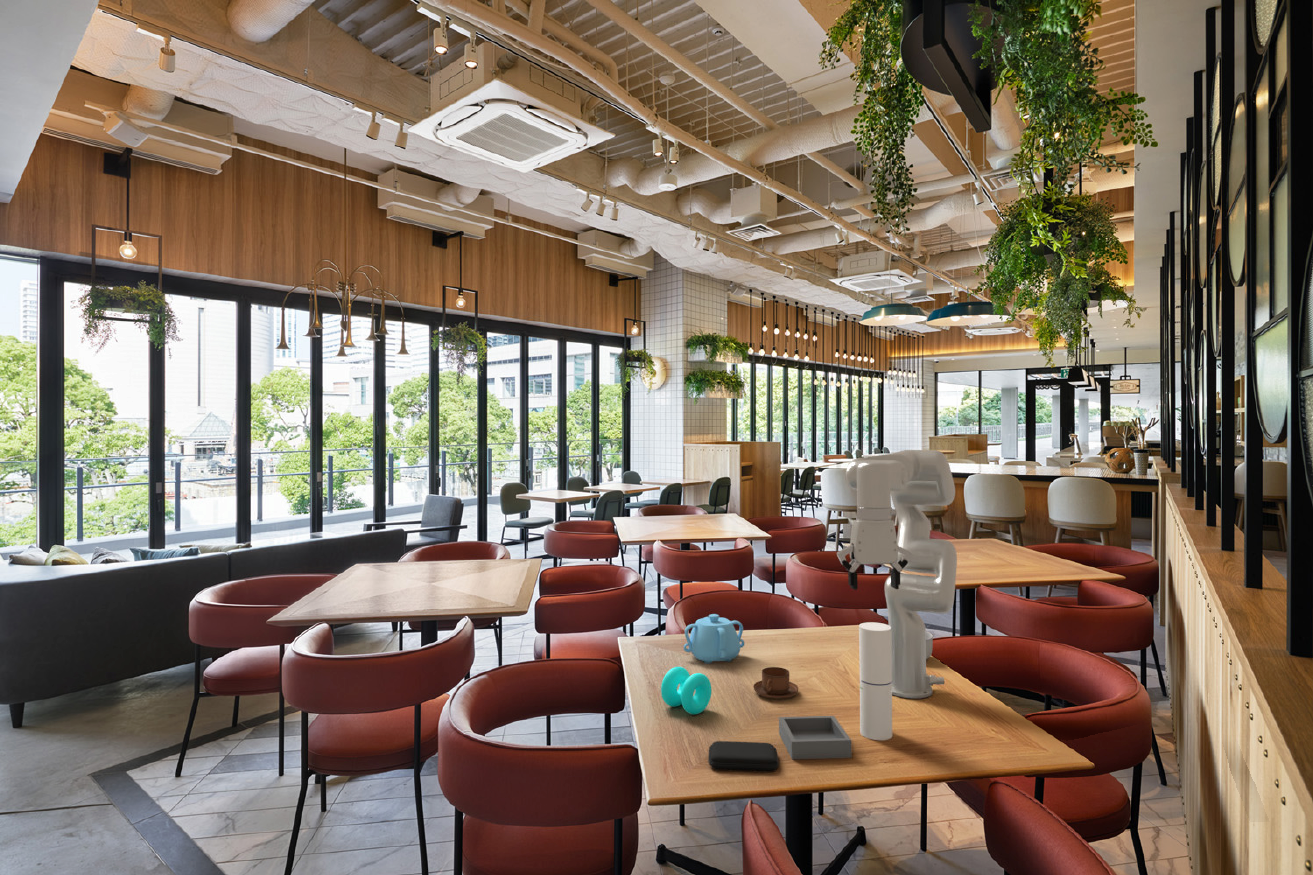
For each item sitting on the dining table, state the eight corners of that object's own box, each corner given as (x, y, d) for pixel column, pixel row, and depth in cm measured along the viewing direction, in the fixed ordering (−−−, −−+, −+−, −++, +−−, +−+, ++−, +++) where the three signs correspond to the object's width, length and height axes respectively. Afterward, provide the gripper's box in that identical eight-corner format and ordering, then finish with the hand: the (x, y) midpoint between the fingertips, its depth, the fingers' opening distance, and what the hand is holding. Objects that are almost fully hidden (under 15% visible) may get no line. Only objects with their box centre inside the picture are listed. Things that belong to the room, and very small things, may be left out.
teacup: (936, 656, 215) (936, 631, 215) (929, 666, 206) (929, 639, 206) (890, 649, 223) (890, 625, 223) (882, 659, 214) (881, 633, 214)
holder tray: (833, 731, 162) (833, 715, 162) (851, 757, 149) (851, 740, 149) (779, 733, 161) (778, 717, 161) (791, 759, 148) (791, 741, 148)
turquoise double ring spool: (685, 698, 183) (685, 661, 183) (714, 709, 176) (713, 670, 176) (658, 709, 176) (658, 670, 176) (687, 720, 169) (687, 680, 169)
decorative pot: (721, 670, 205) (721, 625, 205) (678, 659, 215) (678, 616, 215) (749, 656, 218) (749, 613, 218) (707, 647, 228) (707, 606, 228)
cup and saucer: (798, 704, 179) (798, 680, 179) (752, 701, 181) (751, 677, 181) (798, 687, 191) (798, 665, 191) (754, 684, 193) (754, 662, 193)
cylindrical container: (876, 742, 156) (875, 632, 156) (853, 730, 162) (852, 624, 162) (899, 736, 159) (898, 628, 159) (876, 724, 165) (875, 620, 165)
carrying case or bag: (775, 751, 153) (709, 749, 154) (775, 738, 153) (709, 735, 154) (779, 775, 142) (708, 772, 144) (779, 760, 142) (708, 758, 144)
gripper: (904, 512, 164) (904, 584, 164) (832, 513, 164) (832, 585, 164) (917, 516, 157) (917, 591, 157) (841, 516, 156) (842, 592, 156)
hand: (874, 588), depth 160 cm, fingers open, 9 cm apart
